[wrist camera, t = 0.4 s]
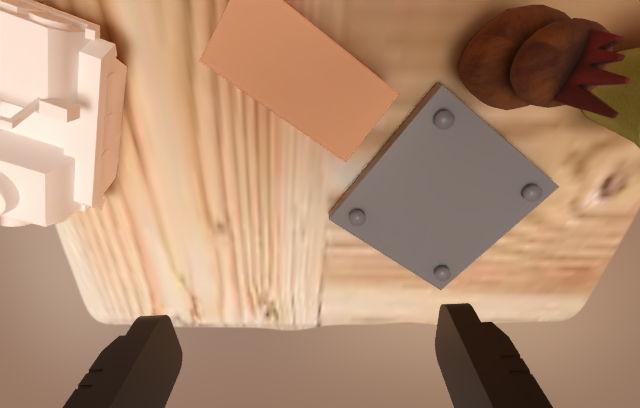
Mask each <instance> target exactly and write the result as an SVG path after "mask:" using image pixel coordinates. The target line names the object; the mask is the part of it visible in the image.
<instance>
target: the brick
mask: <svg viewBox="0 0 640 408" xmlns="http://www.w3.org/2000/svg"><path fill="white" fill-rule="evenodd" d="M200 62H201V63H203V64H204V65H206V66H207V67H209V68H210V69H211V70H213V71H214V72H216V73H217V74H219V75H220V76H222V77H223V78H225V79H226V80H227V81H229V82H230V83H232V84H233V85H235V86H236V87H238V88H239V89H240V90H242V91H243V92H245V93H246V94H248V95H249V96H251V97H252V98H254V99H255V100H256V101H258V102H259V103H261V104H262V105H264V106H265V107H267V108H268V109H269V110H271V111H272V112H274V113H275V114H277V115H278V116H280V117H281V118H283V119H284V120H285V121H287V122H288V123H290V124H291V125H293V126H294V127H296V128H297V129H298V130H300V131H301V132H303V133H304V134H306V135H307V136H309V137H310V138H312V139H313V140H314V141H316V142H317V143H319V144H320V145H322V146H323V147H325V148H326V149H327V150H329V151H330V152H332V153H333V154H335V155H336V156H338V157H339V158H341V159H342V160H343V161H345V162H347V160H348V159H349V158H350V156H351V155H352V154H353V153H354V151H355V150H356V149H357V147H358V146H359V145H360V144H361V142H362V141H363V140H364V138H365V137H366V136H367V135H368V133H369V132H370V131H371V130H372V128H373V127H374V126H375V124H376V123H377V122H378V121H379V119H380V118H381V117H382V115H383V114H384V113H385V112H386V110H387V109H388V108H389V107H390V105H391V104H392V103H393V101H394V100H395V99H396V98H397V96H398V95H399V93H398V92H397V91H395V90H394V89H393V88H392V87H390V86H389V85H388V84H387V83H385V82H384V81H383V80H382V79H380V78H379V77H378V76H377V75H375V74H374V73H373V72H372V71H370V70H369V69H368V68H367V67H365V66H364V65H363V64H362V63H360V62H359V61H358V60H357V59H356V58H354V57H353V56H352V55H351V54H349V53H348V52H347V51H346V50H344V49H343V48H342V47H341V46H339V45H338V44H337V43H336V42H334V41H333V40H332V39H331V38H329V37H328V36H327V35H326V34H324V33H323V32H322V31H321V30H319V29H318V28H317V27H316V26H314V25H313V24H312V23H311V22H309V21H308V20H307V19H306V18H304V17H303V16H302V15H301V14H299V13H298V12H297V11H296V10H295V9H293V8H292V7H291V6H290V5H288V4H287V3H286V2H285V1H283V0H230V1H229V3H228V5H227V7H226V9H225V11H224V13H223V15H222V17H221V19H220V21H219V23H218V25H217V27H216V29H215V31H214V33H213V35H212V37H211V39H210V41H209V43H208V45H207V47H206V49H205V51H204V53H203V55H202V57H201V59H200Z"/></svg>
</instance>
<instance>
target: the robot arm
mask: <svg viewBox="0 0 640 408" xmlns="http://www.w3.org/2000/svg"><path fill="white" fill-rule="evenodd" d="M435 350H436V356H437V360H438V364H439V366H440V369H441V372H442V375H443V378H444V380H445V383H446V386H447V389H448V392H449V394H450V397H451V400H452V403H453V405H454V408H553V407H552V405H551V404H550V402H549V401H548V399H547V397H546V396H545V394H544V393H543V391H542V389H541V388H540V386H539V385H538V383H537V381H536V380H535V378H534V377H533V375H532V374H530V371H529V369H528V367H527V365H526V364H525V362H524V361H523V359H521V358H520V354H519V353H518V351H517V350H516V348H515V346H514V345H513V343H512V341H511V340H510V338H509V337H508V336H507V335H506V334H505V333H504V332H503V331H501V330H500V329H499V328H498V327H497V326H496V325H495V324H493V323H492V322H481V321H480V320H479V318H478V316H477V314H476V312H475V311H474V309H473V307H472V306H471V305H470V304H468V303H465V304H442V305H441V307H440V311H439V318H438V324H437V331H436V338H435ZM181 365H182V350H181V347H180V344H179V341H178V338H177V336H176V333H175V330H174V327H173V325H172V322H171V319H170V317H169V316H167V315H157V316H140V317H138V318H137V319H136V320H135V322H134V323H133V325H132V326H131V328H130V329H129V331H128V332H127V334H126V335H125V336H119V337H118V338H117V339H115V340H114V341H113V342H112V343H111V344H110V345H109V346H107V347H106V348H105V349H104V350H103V351H102V352H101V353H100V355H99V356H98V357H97V359H96V360H95V362H94V364H93V365H92V366H91V368H90V369H89V373H88V374H86V375H85V376H84V378H83V379H82V381H81V382H80V383H79V385H78V389H75V391H74V392H73V394H72V395H71V397H70V398H69V399H68V401H67V402H66V404H65V405H64V407H63V408H165V405H166V403H167V401H168V398H169V396H170V393H171V391H172V389H173V386H174V384H175V382H176V379H177V376H178V374H179V372H180V369H181Z"/></svg>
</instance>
